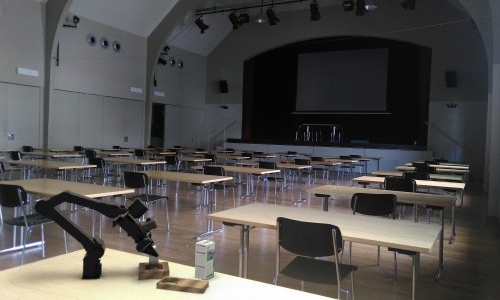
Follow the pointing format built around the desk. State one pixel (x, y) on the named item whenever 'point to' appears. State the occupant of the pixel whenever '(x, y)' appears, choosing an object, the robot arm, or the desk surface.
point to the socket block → (153, 271)
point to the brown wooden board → (183, 284)
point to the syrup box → (204, 259)
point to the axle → (154, 259)
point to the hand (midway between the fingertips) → (157, 253)
